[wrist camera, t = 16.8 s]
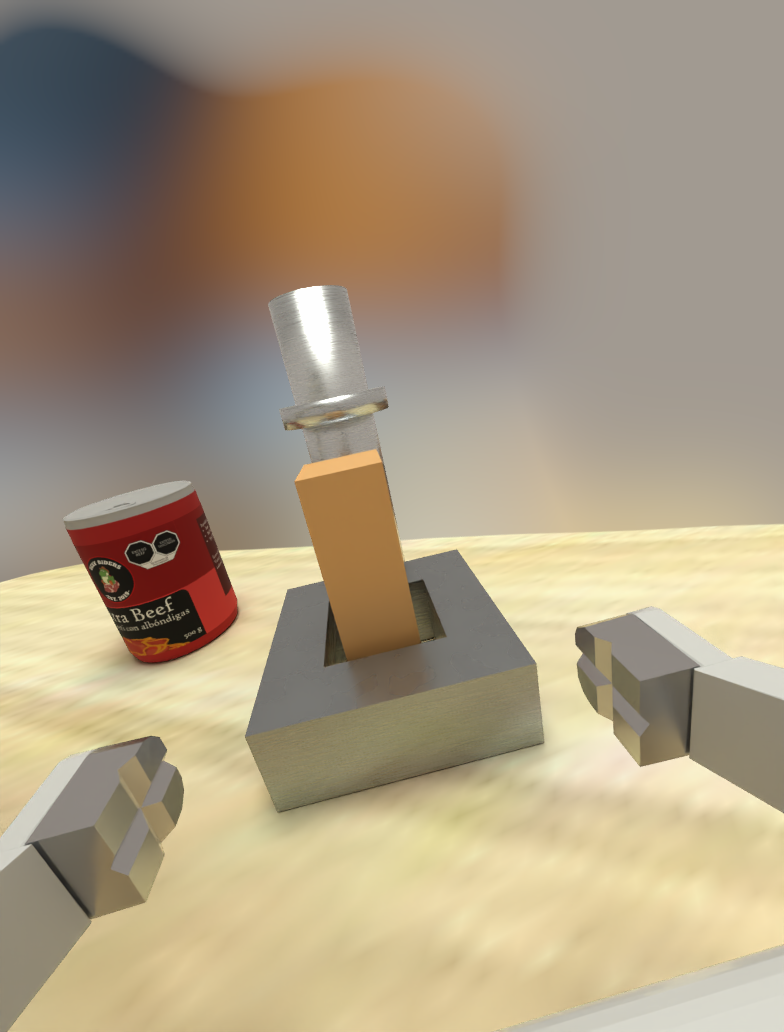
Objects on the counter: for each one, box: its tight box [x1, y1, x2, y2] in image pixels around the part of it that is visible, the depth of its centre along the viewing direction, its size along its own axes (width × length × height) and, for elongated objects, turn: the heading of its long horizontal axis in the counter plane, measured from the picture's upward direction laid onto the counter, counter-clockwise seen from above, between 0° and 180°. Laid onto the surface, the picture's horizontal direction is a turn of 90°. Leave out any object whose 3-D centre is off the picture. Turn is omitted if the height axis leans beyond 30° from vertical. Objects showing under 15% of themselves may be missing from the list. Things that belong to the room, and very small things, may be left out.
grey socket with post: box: [245, 285, 544, 812], centre depth 20 cm, size 16×11×20 cm
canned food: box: [63, 481, 237, 663], centre depth 29 cm, size 8×8×11 cm
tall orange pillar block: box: [295, 449, 421, 662], centre depth 19 cm, size 4×4×12 cm
